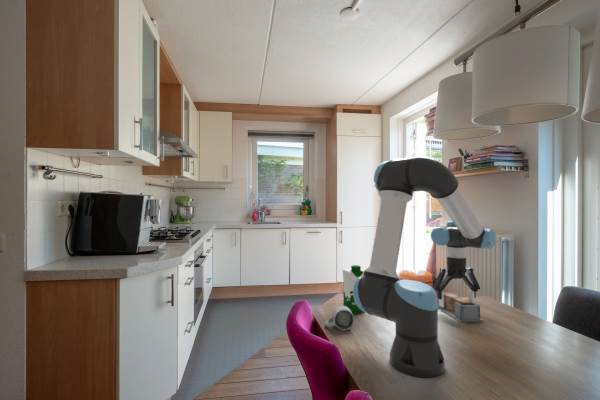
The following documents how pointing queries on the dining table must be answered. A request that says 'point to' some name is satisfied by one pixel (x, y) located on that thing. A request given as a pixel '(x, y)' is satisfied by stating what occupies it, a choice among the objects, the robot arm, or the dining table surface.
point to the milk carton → (351, 287)
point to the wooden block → (454, 301)
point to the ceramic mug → (341, 318)
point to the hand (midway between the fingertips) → (456, 306)
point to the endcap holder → (463, 312)
